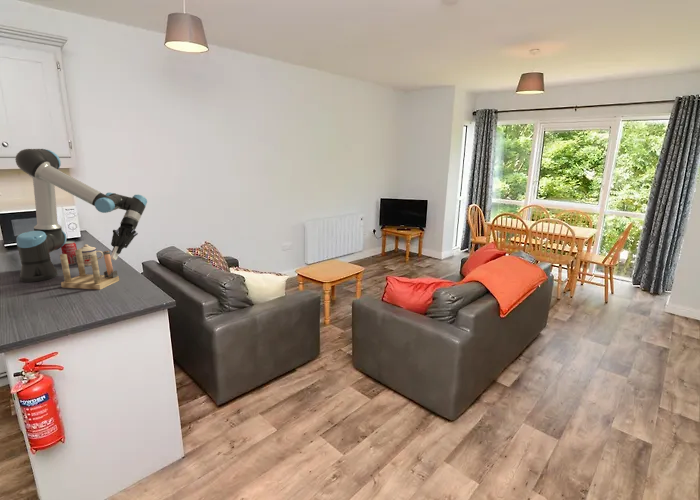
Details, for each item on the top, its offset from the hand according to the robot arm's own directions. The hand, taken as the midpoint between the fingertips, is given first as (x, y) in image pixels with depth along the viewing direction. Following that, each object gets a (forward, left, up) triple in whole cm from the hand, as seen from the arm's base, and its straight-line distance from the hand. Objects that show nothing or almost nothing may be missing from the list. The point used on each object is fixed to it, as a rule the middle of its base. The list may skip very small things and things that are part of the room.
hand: (113, 258), depth 188 cm
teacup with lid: (-33, +24, -12) cm, 42 cm away
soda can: (-44, +22, -12) cm, 50 cm away
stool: (-8, -7, -11) cm, 16 cm away
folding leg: (0, -3, -9) cm, 9 cm away
